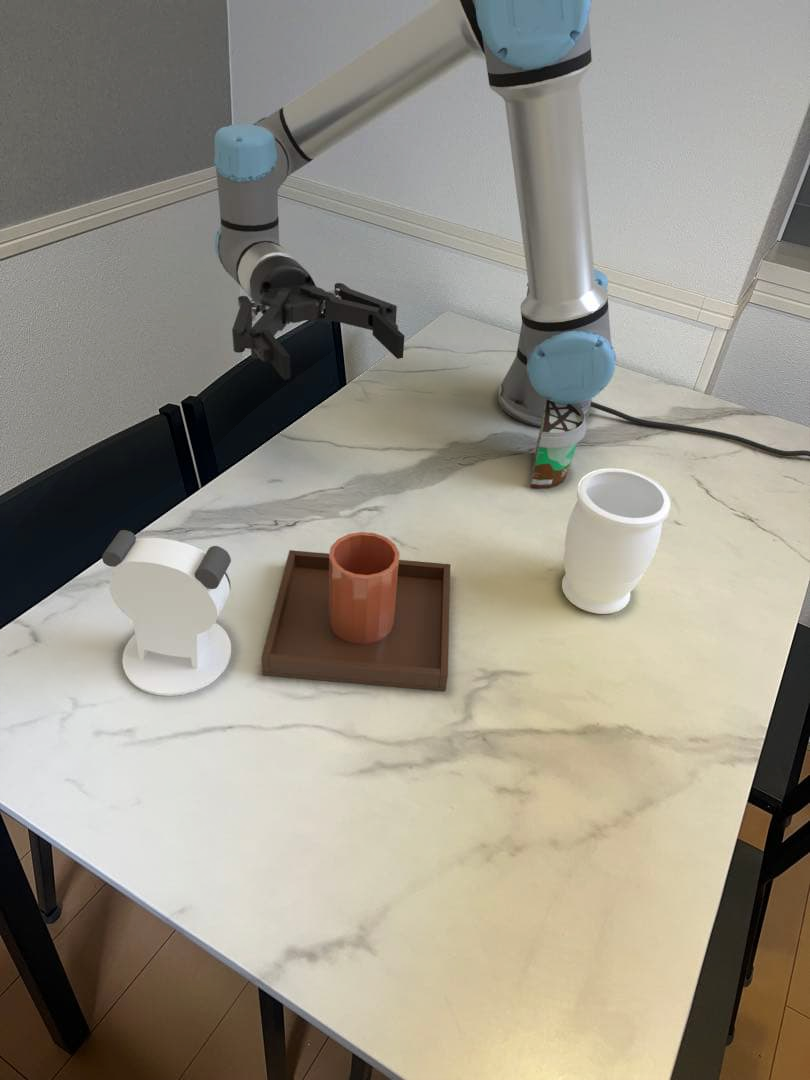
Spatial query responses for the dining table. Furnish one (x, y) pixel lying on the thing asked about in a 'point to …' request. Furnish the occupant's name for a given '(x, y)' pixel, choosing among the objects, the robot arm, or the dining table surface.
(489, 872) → the dining table surface
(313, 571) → the tray
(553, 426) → the food container
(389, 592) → the cup
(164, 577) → the panda figurine
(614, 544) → the jar
